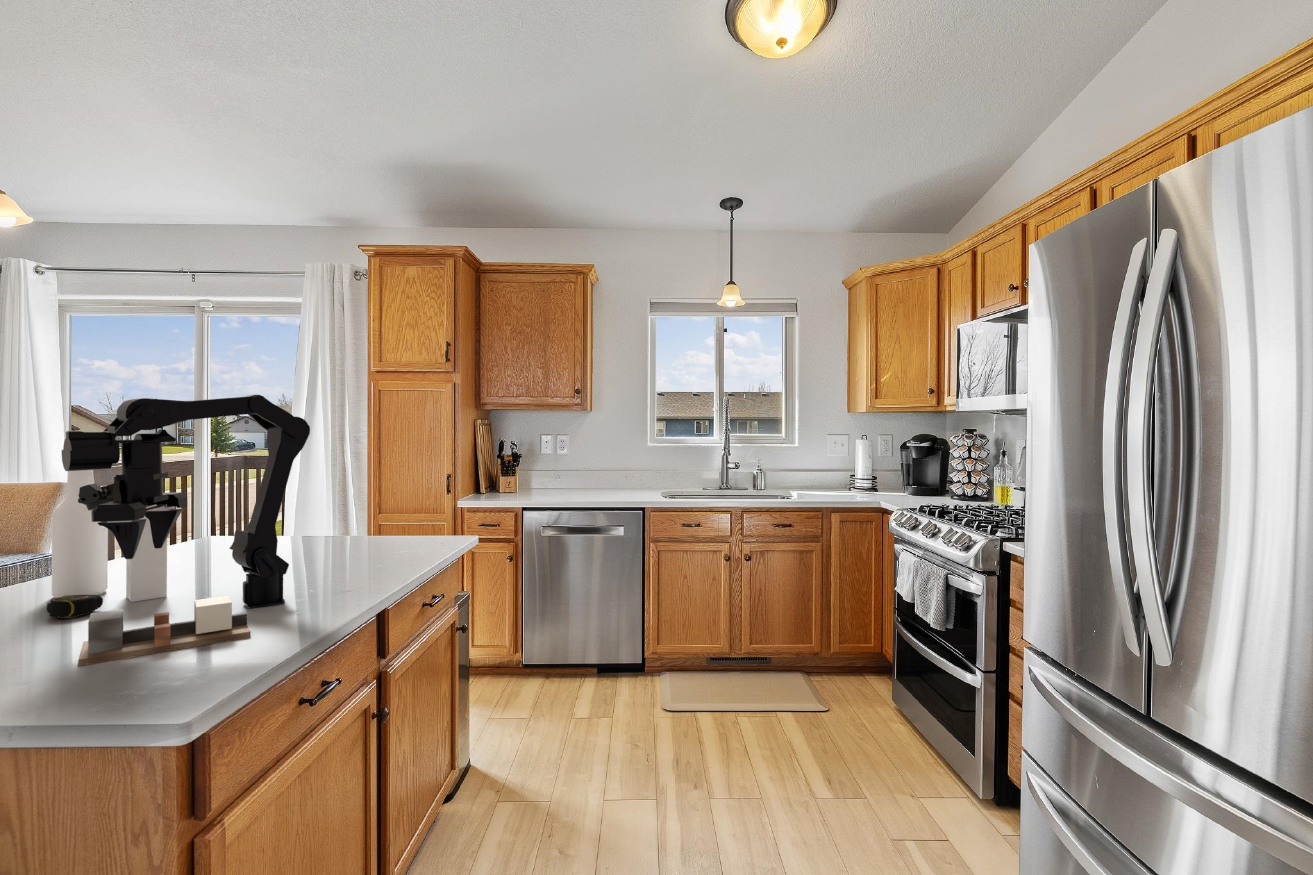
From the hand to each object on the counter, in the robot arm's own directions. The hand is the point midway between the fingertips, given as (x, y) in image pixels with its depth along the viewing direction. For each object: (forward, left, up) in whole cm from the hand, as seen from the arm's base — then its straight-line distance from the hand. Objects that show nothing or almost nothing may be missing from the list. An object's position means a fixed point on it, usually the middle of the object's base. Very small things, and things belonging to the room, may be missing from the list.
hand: (144, 553), depth 112 cm
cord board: (-3, +13, -13) cm, 19 cm away
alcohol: (+11, -35, -14) cm, 39 cm away
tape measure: (+11, -17, -14) cm, 25 cm away
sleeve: (-9, +13, -12) cm, 20 cm away
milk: (0, -25, -14) cm, 29 cm away
